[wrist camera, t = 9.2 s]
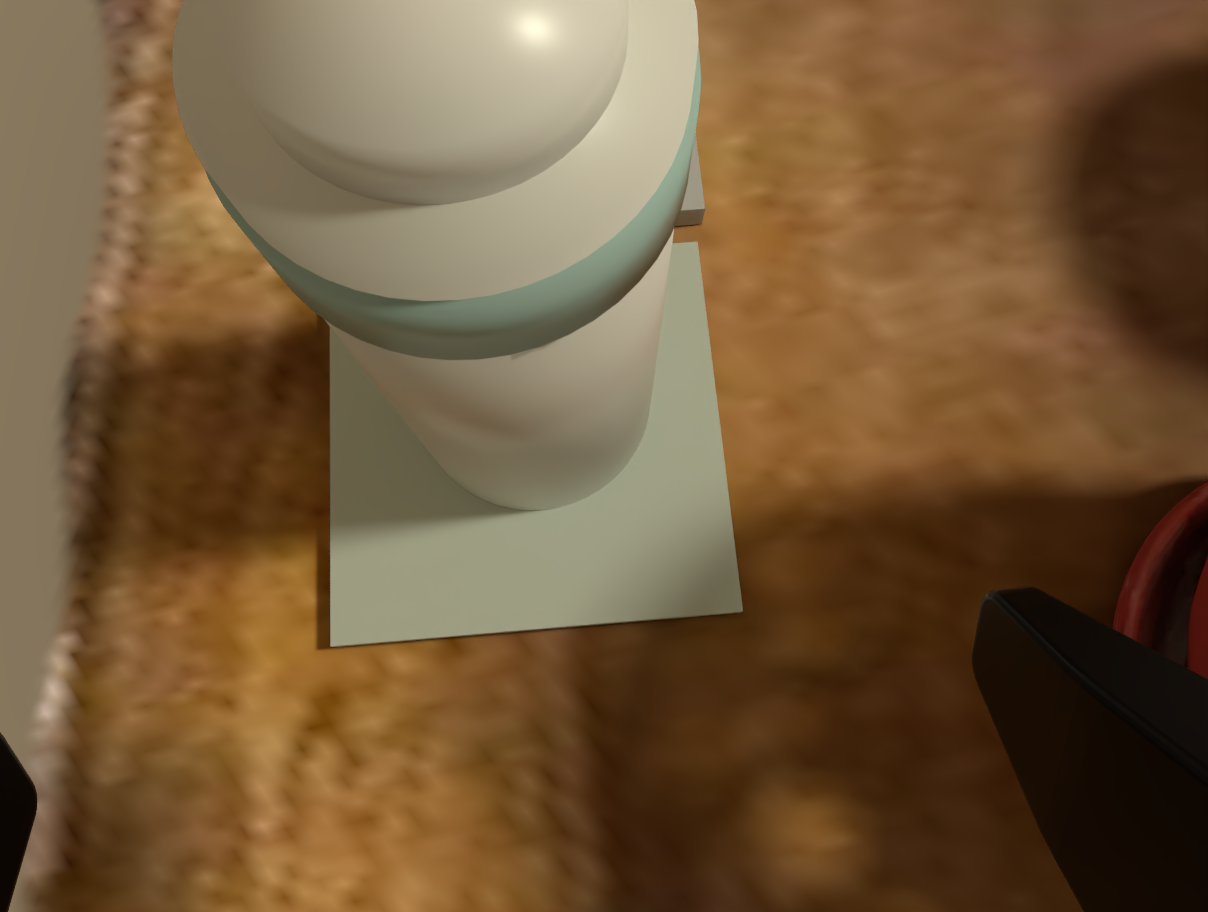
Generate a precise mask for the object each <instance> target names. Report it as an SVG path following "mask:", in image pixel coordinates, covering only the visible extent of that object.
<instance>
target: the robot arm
mask: <svg viewBox="0 0 1208 912" xmlns="http://www.w3.org/2000/svg"><path fill="white" fill-rule="evenodd" d="M972 665H973V671H974V675H975V679H976V681H977V684H978V686H979V689H980V691H981V694H982V696H983V698H984V701H985V703H986V705H987V708H988V710H989V713H990V715H991V717H992V720H993V722H994V724H995V727H996V729H997V731H998V734H999V736H1000V739H1001V741H1002V743H1003V746H1004V748H1005V750H1006V753H1007V755H1008V757H1009V760H1010V762H1011V765H1012V767H1013V769H1014V772H1015V774H1016V776H1017V779H1018V781H1019V783H1020V786H1021V788H1022V791H1023V793H1024V795H1025V798H1026V800H1027V802H1028V805H1029V807H1030V809H1031V812H1032V814H1033V816H1034V818H1035V820H1036V823H1037V825H1038V827H1039V829H1040V831H1041V833H1042V835H1043V837H1044V839H1045V841H1046V843H1047V845H1048V847H1049V849H1050V851H1051V853H1052V854H1053V856H1054V858H1055V860H1056V862H1057V864H1058V866H1059V867H1060V869H1061V871H1062V873H1063V875H1064V876H1065V878H1066V880H1067V882H1068V884H1069V885H1070V887H1071V889H1072V891H1073V893H1074V895H1075V896H1076V898H1077V900H1078V902H1079V904H1080V905H1081V907H1082V909H1083V911H1084V912H1208V679H1207V678H1205V677H1203V676H1201V675H1199V674H1197V673H1195V672H1194V671H1192V670H1190V669H1188V668H1186V667H1184V666H1182V665H1180V664H1179V663H1177V662H1175V661H1173V660H1171V659H1169V658H1167V657H1165V656H1164V655H1162V654H1160V653H1158V652H1156V651H1154V650H1152V649H1150V648H1149V647H1147V646H1145V645H1143V644H1141V643H1139V642H1137V641H1135V640H1134V639H1132V638H1130V637H1128V636H1126V635H1124V634H1122V633H1120V632H1119V631H1117V630H1115V629H1113V628H1111V627H1109V626H1107V625H1105V624H1104V623H1102V622H1100V621H1098V620H1096V619H1094V618H1092V617H1090V616H1089V615H1087V614H1085V613H1083V612H1081V611H1079V610H1077V609H1076V608H1074V607H1072V606H1070V605H1068V604H1066V603H1064V602H1062V601H1061V600H1059V599H1057V598H1055V597H1053V596H1051V595H1049V594H1047V593H1046V592H1044V591H1042V590H1040V589H1037V588H1035V587H1032V586H1018V587H1011V588H1004V589H996V590H992V591H990V592H988V593H987V594H986V595H985V596H984V598H983V599H982V603H981V607H980V613H979V619H978V624H977V630H976V636H975V642H974V648H973V655H972ZM36 811H37V793H36V789H35V785H34V783H33V781H32V780H31V778H30V777H29V775H28V774H27V772H26V771H25V769H24V767H23V766H22V764H21V763H20V761H19V760H18V758H17V757H16V755H15V753H14V752H13V750H12V749H11V747H10V746H9V744H8V743H7V741H6V739H5V738H4V736H3V735H2V734H1V733H0V912H8V910H9V906H10V903H11V899H12V896H13V892H14V889H15V885H16V882H17V878H18V875H19V872H20V868H21V865H22V861H23V858H24V854H25V851H26V847H27V844H28V840H29V837H30V833H31V830H32V826H33V823H34V819H35V816H36Z"/></svg>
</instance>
